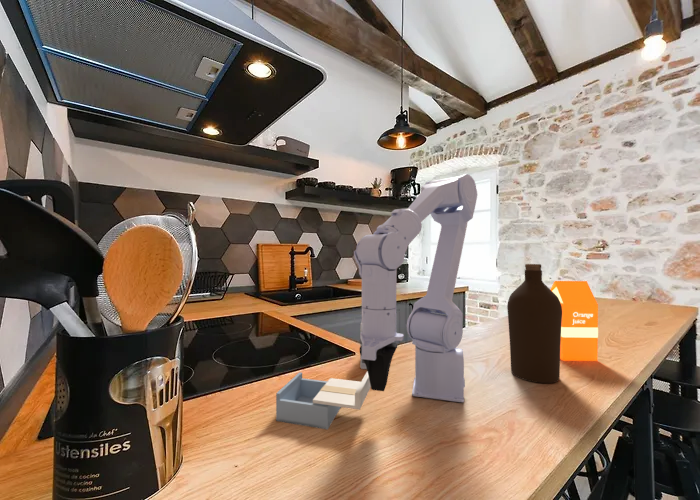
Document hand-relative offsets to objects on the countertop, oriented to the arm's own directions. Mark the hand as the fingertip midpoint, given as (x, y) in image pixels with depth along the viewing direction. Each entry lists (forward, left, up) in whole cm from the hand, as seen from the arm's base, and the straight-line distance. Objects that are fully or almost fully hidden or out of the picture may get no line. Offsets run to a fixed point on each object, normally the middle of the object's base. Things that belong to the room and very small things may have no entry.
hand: (378, 388), depth 51 cm
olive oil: (-31, -28, -6) cm, 42 cm away
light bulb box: (+5, -26, -6) cm, 27 cm away
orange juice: (-44, -45, -6) cm, 63 cm away
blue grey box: (+12, 0, -5) cm, 13 cm away
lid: (+6, 0, -2) cm, 6 cm away
